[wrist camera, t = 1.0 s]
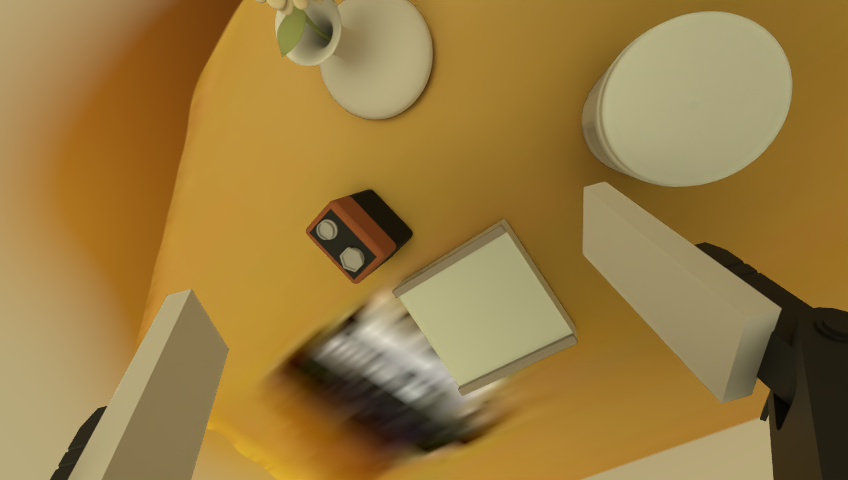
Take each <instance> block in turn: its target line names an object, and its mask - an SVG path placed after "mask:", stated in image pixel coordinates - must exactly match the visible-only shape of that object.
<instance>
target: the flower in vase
mask: <svg viewBox="0 0 848 480" xmlns="http://www.w3.org/2000/svg"><path fill="white" fill-rule="evenodd" d="M256 1H258V2H260V3H264V2H266V1H267V3H268V4H269V5H270V6H271V7H273V8H274V9H278V10H277V14H276V19H275V32H276V37H277V40H278V44H279V47H280V50H281V54H282V57H283V56H285V55H286V56H287V57H288V58H289V59H290V60H292V61H293V62H295V63H297V64H299V65H303V66H314V65H318V64H319V66H320V71H321V75H322V78H323V80H324V83H325V85H326V87H327V89H328V90H329V92H330V94H331V95H332V97H333V98H334V99H335V101H336V102H337V103H338V104H339V105H340V106H341V107H343V108H344V109H345V110H346V111H348V112H350V113H351V114H353V115H355V116H358V117H361V118H364V119H371V120H381V119H387V118H390V117H393V116H396V115H398V114H400V113H402V112H403V111H405V110H406V109H407V108H409V107H410V106H411V105H412V104H413V103H414V102H415V101H416V100H417V99H418V97H419V96H420V94H421V93H422V91H423V90H424V88H425V86H426V84H427V81H428V79H429V76H430V72H431V68H432V60H433V47H432V40H431V36H430V32H429V29H428V26H427V24H426V22H425V20H424V18H423V16H422V15H421V14H420V12H419V11H418V9H417V8H416V7H415V6H414V5H413V4H412V3H411V2H409V1H408V0H344V1H343V2H342V3H341V4H339V5H338V6H337V5H336V3H335V1H334V0H256Z"/></svg>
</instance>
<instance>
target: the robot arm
mask: <svg viewBox="0 0 848 480" xmlns="http://www.w3.org/2000/svg"><path fill="white" fill-rule="evenodd" d="M583 255H584V256H585V257H586V258H587V259H588V260H589V261H590V262H591V264H592V265H593V266H594V267H595V268H596V269H597V270H598V271H599V272H600V273H601V274H602V275H603V276H604V278H605V279H606V280H607V281H608V282H609V283H610V284H611V285H612V286H613V287H614V288H615V289H616V290H617V292H618V293H619V294H620V295H621V296H622V297H623V298H624V299H625V300H626V301H627V302H628V303H629V304H630V306H631V307H632V308H633V309H634V310H635V311H636V312H637V313H638V314H639V315H640V316H641V317H642V318H643V320H644V321H645V322H646V323H647V324H648V325H649V326H650V327H651V328H652V329H653V330H654V331H655V332H656V334H657V335H658V336H659V337H660V338H661V339H662V340H663V341H664V342H665V343H666V344H667V345H668V346H669V348H670V349H671V350H672V351H673V352H674V353H675V354H676V355H677V356H678V357H679V358H680V359H681V360H682V362H683V363H684V364H685V365H686V366H687V367H688V368H689V369H690V370H691V371H692V372H693V373H694V374H695V376H696V377H697V378H698V379H699V380H700V381H701V382H702V383H703V384H704V385H705V386H706V387H707V388H708V390H709V391H710V392H711V393H712V394H713V395H714V396H715V397H716V398H717V399H718V400H719V401H720V403H725V402H728V401H732V400H735V399H739V398H742V397H745V396H749V395H752V392H753V389H754V386H755V383H756V380H757V377H758V378H759V379H760V380H761V381H762V382H763V383H764V384H765V385H766V386H767V387H769V388H770V389H771V390H770V392H769V395H768V397H767V400H766V403H765V405H764V408H763V411H762V414H761V417H760V420H763V421H766V419H767V417H768V415H769V424H770V437H771V451H772V464H773V477H774V480H848V312H846V311H842V310H838V309H834V308H821V307H818V308H812V307H811V306H809V305H808V304H806V303H805V302H803V301H802V300H800V299H799V298H797V297H796V296H794V295H793V294H791V293H790V292H788V291H787V290H785V289H784V288H782V287H781V286H779V285H778V284H776V283H775V282H773V281H772V280H770V279H769V278H767V277H766V276H764V275H763V274H761V273H757V270H755V269H754V268H753V267H751V266H750V265H748V264H744V263H743V261H742V260H741V259H739V258H738V257H736V256H735V255H733V254H732V253H730V252H729V251H727V250H725V249H722V248H720V247H717V246H714V245H711V244H709V243H706V242H704V243H701V244H697V245H693V244H692V243H690V242H689V241H687V240H686V239H685V238H683V237H682V236H680V235H679V234H678V233H676V232H675V231H673V230H672V229H671V228H669V227H668V226H666V225H665V224H664V223H662V222H661V221H660V220H658V219H657V218H655V217H654V216H653V215H651V214H650V213H648V212H647V211H646V210H644V209H643V208H641V207H640V206H639V205H637V204H636V203H635V202H633V201H632V200H630V199H629V198H628V197H626V196H625V195H623V194H622V193H621V192H619V191H618V190H616V189H615V188H614V187H612V186H611V185H610V184H608V183H607V182H601V183H597V184H594V185H590V186H586V187H584V194H583ZM228 351H229V348H228V347H227V345H226V344H225V342H224V340H223V339H222V337H221V335H220V334H219V332H218V331H217V329H216V327H215V326H214V324H213V323H212V321H211V319H210V318H209V316H208V315H207V313H206V311H205V310H204V308H203V307H202V305H201V303H200V302H199V300H198V299H197V297H196V295H195V294H194V292H193V291H192V289H189V290H186V291H182V292H178V293H174V294H170V295H167V297H166V299H165V301H164V302H163V304H162V306H161V308H160V310H159V312H158V314H157V315H156V317H155V319H154V321H153V323H152V325H151V327H150V328H149V330H148V332H147V334H146V336H145V338H144V339H143V341H142V343H141V345H140V347H139V349H138V351H137V352H136V354H135V356H134V358H133V360H132V362H131V364H130V366H129V367H128V369H127V371H126V373H125V375H124V377H123V378H122V380H121V382H120V384H119V386H118V388H117V389H116V391H115V393H114V395H113V397H112V399H111V401H110V402H109V404H108V406H105V407H101V408H98V409H97V410H96V411H95V412H94V413H93V414H92V415H91V416H90V418H89V419H88V420H87V421H86V422H85V423H84V424H83V425H82V426H81V427H80V429H79V430H78V432H77V434H76V436H75V437H74V439H73V441H72V443H71V444H70V446H69V448H68V450H69V451H68V452H66V453H65V455H64V456H63V458H62V460H61V462H60V463H59V465H58V466H59V469H57V470H56V471H55V472H54V474H53V475H52V477H51V479H50V480H191V478H192V474H193V471H194V468H195V464H196V461H197V457H198V454H199V450H200V447H201V444H202V440H203V436H204V433H205V430H206V426H207V423H208V419H209V416H210V413H211V409H212V406H213V402H214V399H215V395H216V392H217V388H218V385H219V382H220V378H221V375H222V371H223V368H224V364H225V361H226V357H227V354H228Z"/></svg>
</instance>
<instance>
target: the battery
mask: <svg viewBox="0 0 848 480" xmlns="http://www.w3.org/2000/svg"><path fill="white" fill-rule="evenodd" d="M306 233H307V235H308V236H309V237H310V238H311V239H312V240H313V241H314V243H315V244H316V245H317V246H318V247H319V248H320V249H321V250H322V251H323V252H324V253H325V254H326V255H327V256H328V257H329V258H330V259H331V260H332V262H333V263H334V264H335V265H336V266H337V267H338V268H339V269H340V270H341V271H342V272H343V273H344V274H345V275H346V276H347V277H348V278H349V279H350V280H351V281H352V282H353V283H355V284H357V283H359V282H360V281H362V280H363V279H364V278H366V277H367V276H368V275H369V274H371V273H372V272H373V271H374V270H376V269H377V268H378V267H379V266H381V265H382V264H383V263H384V262H386V261H387V260H388V259H389V258H391V257H392V256H393V255H394V254H395V253H396V252H397V251H398V250H399V249H400V248H401V247H402V246H403V245H404V244H405V243H406V242H407V241H408V240H409V239H410V238H411V237H412V231H411V230H410V229H409V228H408V227H407V226H406V225H405V224H404V223H403V222H402V221H401V220H400V218H399V217H398V216H397V215H396V214H395V213H394V212H393V211H392V210H391V209H390V208H389V207H388V206H387V205H386V204H385V203H384V202H383V201H382V200H381V199H380V197H379V196H378V195H377V194H376V193H375V192H374V191H372V190H366V191H362V192H359V193H356V194H353V195H349V196H346V197H343V198H340V199H336V200H333V201H331V202H330V203H329V204H328V205H327V206H326V207H325V208H324V209H323V210H322V212H321V213H320V214H319V215H318V216H317V217H316V218H315V220H314V221H313V222H312V223H311V224H310V225H309V226H308V228H307V229H306Z"/></svg>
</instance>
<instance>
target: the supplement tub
mask: <svg viewBox="0 0 848 480" xmlns="http://www.w3.org/2000/svg"><path fill="white" fill-rule="evenodd" d="M791 98H792V75H791V69H790V65H789V62H788V59H787V57H786V55H785V52H784V51H783V49H782V47H781V46H780V44H779V43H778V41H777V40H776V39H775V38H774V37H773V36H772V35H771V34H770V33H769V32H768V31H767V30H766V29H765V28H763V27H762V26H760V25H759V24H757V23H756V22H754V21H752V20H750V19H748V18H745V17H742V16H739V15H736V14H733V13H727V12H718V11H703V12H695V13H690V14H685V15H681V16H678V17H675V18H673V19H670V20H668V21H665V22H663V23H661V24H659V25H657V26H655V27H653V28H651V29H650V30H648V31H646V32H645V33H643V34H642V35H640V36H639V37H638V38H636V39H635V40H634V41H632V42H631V43H630V44H629V45H628V46H627V47H626V48H625V49H624V50H623V51H622V52H621V53H620V54H619V56H618V57H617V58H616V59H615V60H614V62H613V63H612V64H611V65H610V66H609V68H608V69H607V70H606V71H605V73H604V74H603V75H602V76H601V77H600V79H599V80H598V81H597V82H596V84H595V85H594V86H593V88H592V89H591V91H590V93H589V95H588V97H587V99H586V101H585V104H584V107H583V112H582V131H583V135H584V139H585V141H586V144H587V146H588V148H589V149H590V151H591V152H592V154H593V155H594V156H595V157H596V158H597V159H598V160H599V161H600V162H602V163H603V164H604V165H606V166H608V167H609V168H611V169H614V170H616V171H618V172H621V173H623V174H626V175H628V176H631V177H633V178H636V179H639V180H641V181H644V182H648V183H651V184H655V185H661V186H671V187H680V186H696V185H702V184H707V183H711V182H714V181H717V180H720V179H723V178H725V177H728V176H730V175H732V174H734V173H736V172H738V171H739V170H741V169H743V168H744V167H746V166H747V165H748V164H750V163H751V162H752V161H754V160H755V159H756V158H758V157H759V156H760V155H761V154H762V153H763V152H764V151H765V150H766V149H767V147H768V146H769V145H770V144H771V143H772V141H773V140H774V139H775V137H776V136H777V134H778V132H779V131H780V129H781V127H782V125H783V123H784V121H785V119H786V116H787V114H788V110H789V107H790V103H791Z"/></svg>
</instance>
